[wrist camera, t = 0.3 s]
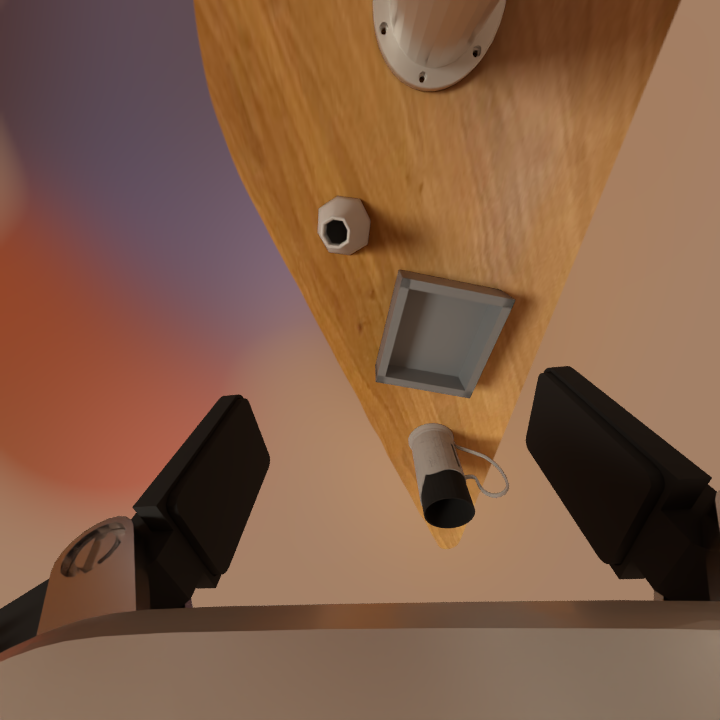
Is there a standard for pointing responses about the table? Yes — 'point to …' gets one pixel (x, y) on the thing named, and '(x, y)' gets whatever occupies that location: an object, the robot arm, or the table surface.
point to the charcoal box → (440, 333)
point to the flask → (343, 225)
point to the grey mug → (444, 477)
